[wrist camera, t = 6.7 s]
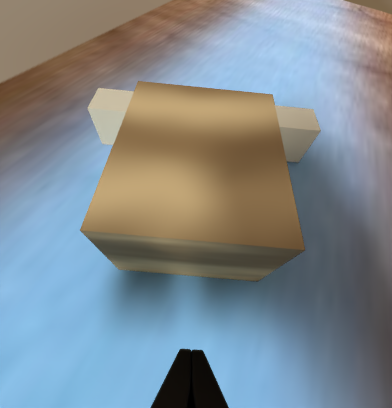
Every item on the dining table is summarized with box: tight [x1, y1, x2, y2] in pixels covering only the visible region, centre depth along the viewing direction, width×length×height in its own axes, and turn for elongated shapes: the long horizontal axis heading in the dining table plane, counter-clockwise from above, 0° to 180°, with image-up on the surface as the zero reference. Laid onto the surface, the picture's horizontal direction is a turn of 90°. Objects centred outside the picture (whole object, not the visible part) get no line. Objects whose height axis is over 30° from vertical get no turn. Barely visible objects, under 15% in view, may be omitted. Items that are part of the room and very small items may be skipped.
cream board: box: [88, 88, 321, 163], centre depth 20 cm, size 3×20×4 cm, turn 86°
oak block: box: [80, 81, 305, 281], centre depth 15 cm, size 12×10×7 cm
